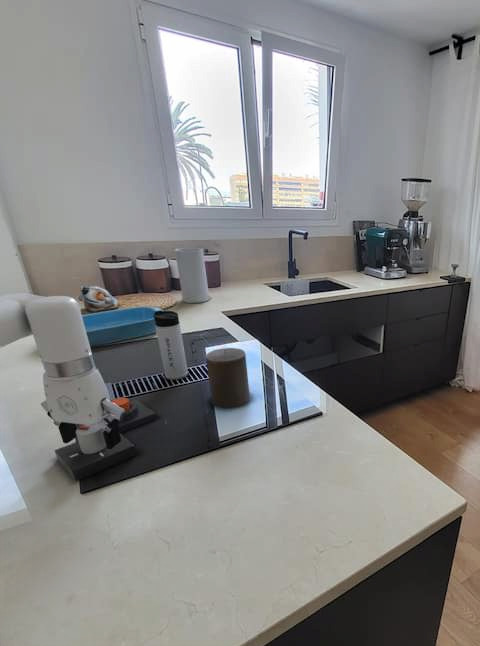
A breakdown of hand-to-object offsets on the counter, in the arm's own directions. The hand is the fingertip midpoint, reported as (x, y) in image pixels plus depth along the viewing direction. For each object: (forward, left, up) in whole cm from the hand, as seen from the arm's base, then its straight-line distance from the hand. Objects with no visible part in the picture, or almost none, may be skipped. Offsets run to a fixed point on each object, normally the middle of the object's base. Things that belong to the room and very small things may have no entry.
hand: (92, 442), depth 79 cm
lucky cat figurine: (+45, +119, -4) cm, 127 cm away
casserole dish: (+34, +78, -4) cm, 85 cm away
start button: (+9, +11, -1) cm, 15 cm away
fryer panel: (0, 0, -4) cm, 4 cm away
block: (+10, +11, -4) cm, 15 cm away
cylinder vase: (+83, +105, -4) cm, 134 cm away
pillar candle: (+33, +1, -4) cm, 33 cm away
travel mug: (+31, +26, -4) cm, 40 cm away
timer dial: (0, 0, -1) cm, 1 cm away
